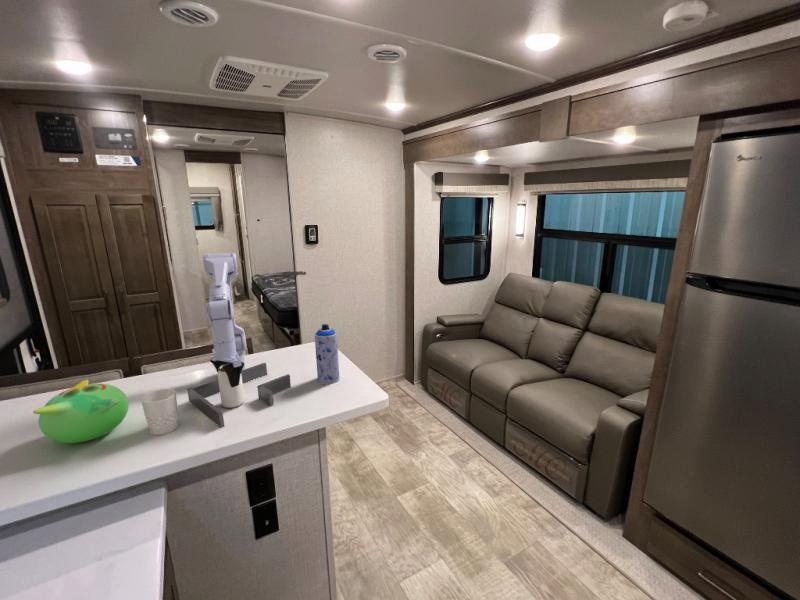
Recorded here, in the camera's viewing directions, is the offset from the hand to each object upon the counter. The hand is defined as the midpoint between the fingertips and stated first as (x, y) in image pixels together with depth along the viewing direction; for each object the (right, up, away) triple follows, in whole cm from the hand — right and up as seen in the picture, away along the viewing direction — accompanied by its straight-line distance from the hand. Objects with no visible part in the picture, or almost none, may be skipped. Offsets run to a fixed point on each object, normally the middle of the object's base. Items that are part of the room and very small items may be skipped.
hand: (229, 382), depth 112 cm
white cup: (-13, -11, -10) cm, 20 cm away
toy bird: (-31, -12, -13) cm, 35 cm away
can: (0, -7, +2) cm, 7 cm away
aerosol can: (+26, -3, +18) cm, 32 cm away
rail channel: (+2, -6, +6) cm, 9 cm away
